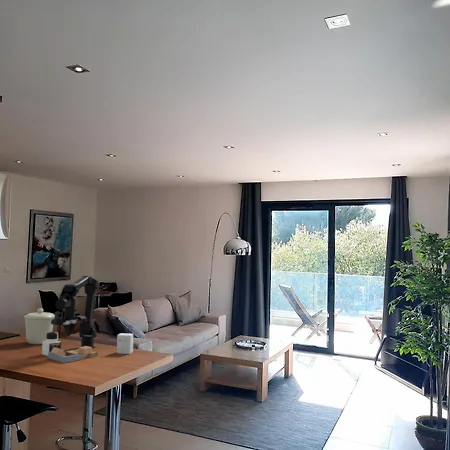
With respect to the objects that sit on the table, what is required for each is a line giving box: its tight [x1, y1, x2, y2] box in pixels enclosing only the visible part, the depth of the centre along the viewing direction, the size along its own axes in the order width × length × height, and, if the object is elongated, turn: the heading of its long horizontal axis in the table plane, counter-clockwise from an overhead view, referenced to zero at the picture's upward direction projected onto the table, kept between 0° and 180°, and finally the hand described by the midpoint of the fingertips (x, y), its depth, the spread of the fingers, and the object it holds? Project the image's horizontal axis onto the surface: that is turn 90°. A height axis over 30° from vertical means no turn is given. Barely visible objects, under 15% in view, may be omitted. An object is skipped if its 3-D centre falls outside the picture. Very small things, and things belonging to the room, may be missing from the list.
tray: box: [47, 349, 82, 364], centre depth 231 cm, size 10×15×3 cm, turn 55°
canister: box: [23, 307, 55, 345], centre depth 269 cm, size 18×18×21 cm
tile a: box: [51, 347, 66, 356], centre depth 232 cm, size 5×5×3 cm
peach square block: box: [78, 346, 93, 354], centre depth 237 cm, size 5×5×3 cm
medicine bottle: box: [41, 331, 62, 357], centre depth 240 cm, size 7×7×12 cm
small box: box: [116, 332, 134, 355], centre depth 250 cm, size 8×6×10 cm
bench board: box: [65, 348, 99, 360], centre depth 240 cm, size 11×14×2 cm
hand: (68, 336), depth 237 cm, fingers closed
